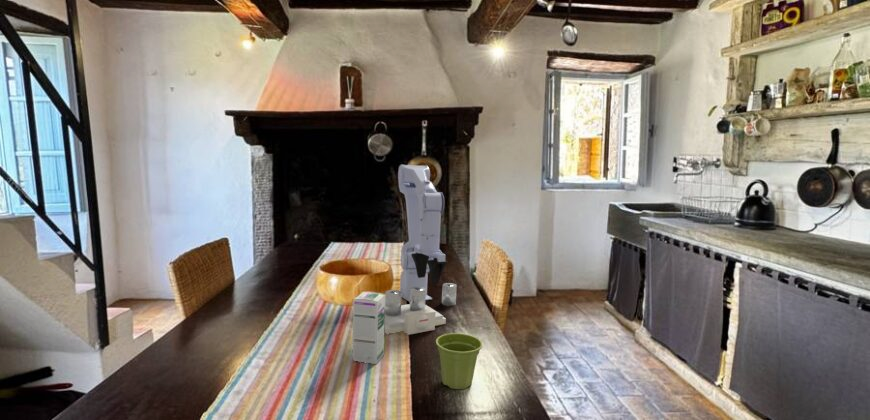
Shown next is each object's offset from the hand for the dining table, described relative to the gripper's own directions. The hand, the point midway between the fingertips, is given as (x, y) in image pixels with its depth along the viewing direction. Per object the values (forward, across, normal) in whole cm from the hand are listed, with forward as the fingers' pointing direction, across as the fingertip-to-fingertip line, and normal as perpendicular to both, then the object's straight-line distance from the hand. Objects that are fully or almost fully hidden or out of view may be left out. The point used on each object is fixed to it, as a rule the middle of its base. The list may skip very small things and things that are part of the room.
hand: (427, 280), depth 129 cm
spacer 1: (+7, +2, -12) cm, 14 cm away
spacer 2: (+7, +2, -4) cm, 9 cm away
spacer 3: (+10, -5, +11) cm, 16 cm away
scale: (+10, +4, -8) cm, 13 cm away
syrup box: (+10, +19, -26) cm, 34 cm away
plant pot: (+10, +37, -14) cm, 41 cm away
